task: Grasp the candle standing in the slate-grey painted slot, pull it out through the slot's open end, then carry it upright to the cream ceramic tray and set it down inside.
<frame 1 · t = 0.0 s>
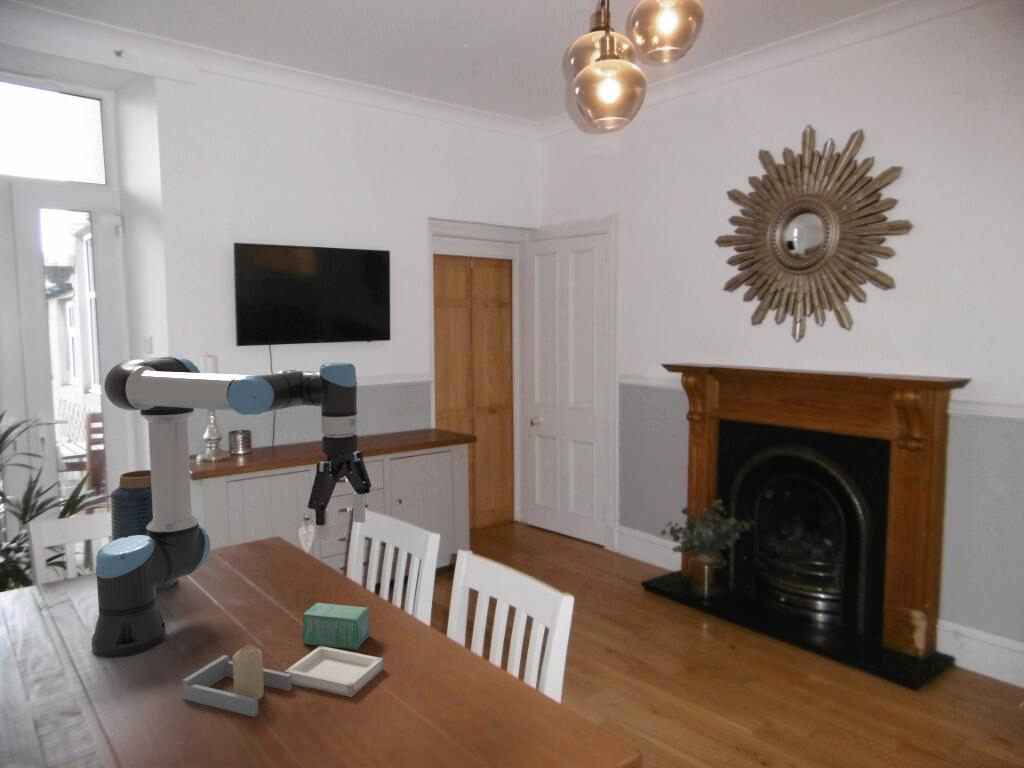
hand: (342, 530, 158), 28 cm above the table, fingers open, 13 cm apart
tray: (334, 675, 151), on the table
box: (337, 641, 167), on the table
vase: (145, 586, 200), on the table
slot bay: (241, 694, 143), on the table
candle: (249, 697, 142), resting in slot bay
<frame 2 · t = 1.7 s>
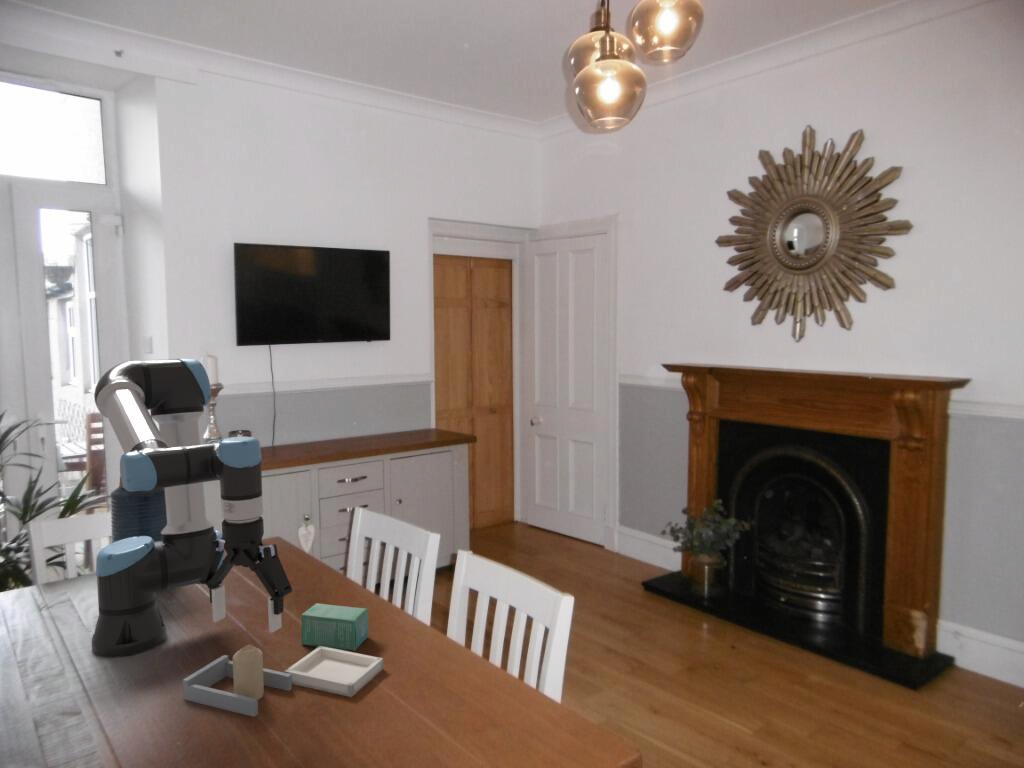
hand: (246, 624, 141), 15 cm above the table, fingers open, 13 cm apart
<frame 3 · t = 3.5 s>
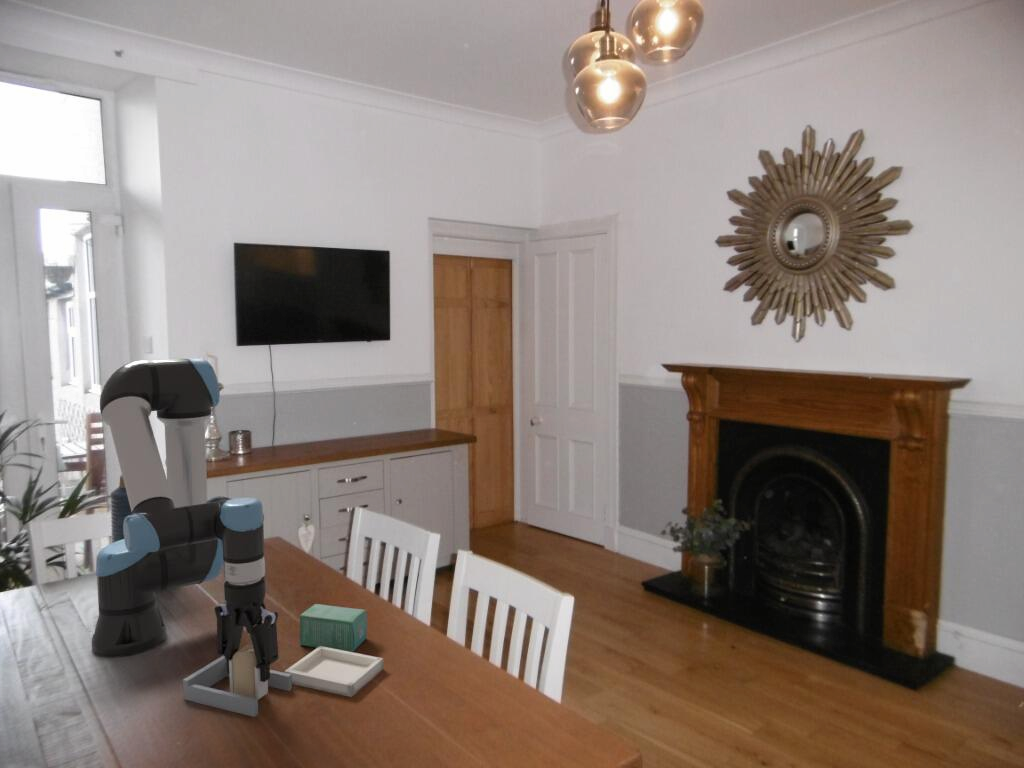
hand: (249, 692, 142), 1 cm above the table, fingers closed on candle, 5 cm apart
candle: (249, 697, 142), resting in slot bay, touching gripper
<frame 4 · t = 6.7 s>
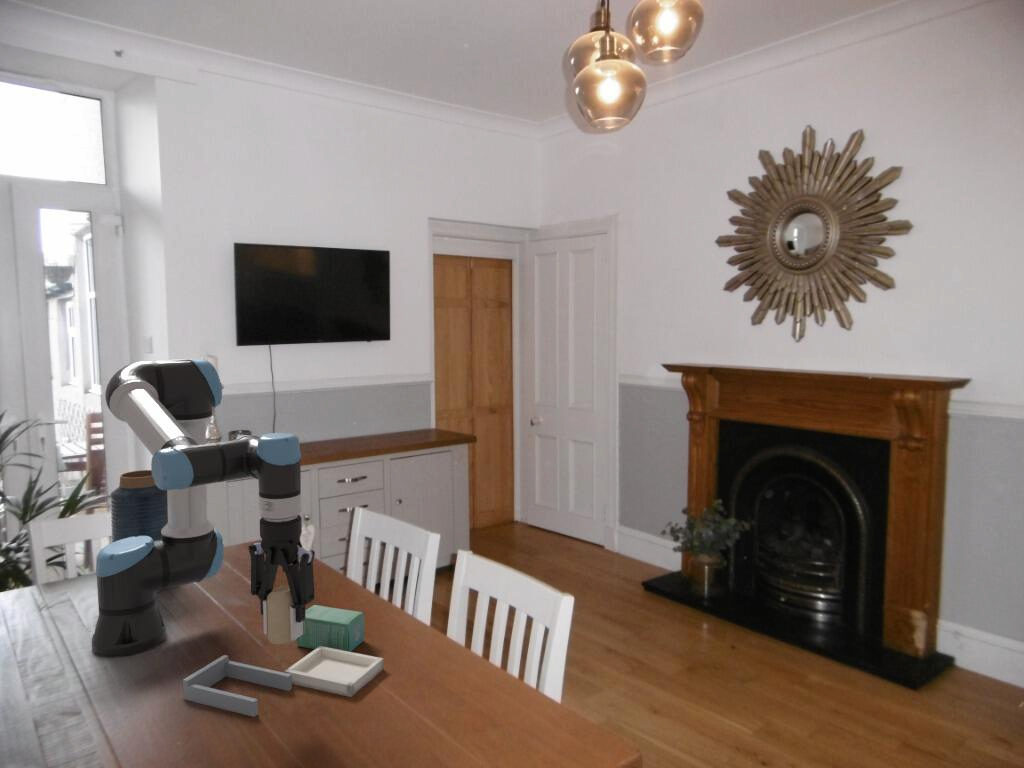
hand: (283, 633, 138), 14 cm above the table, fingers closed on candle, 5 cm apart
box: (331, 645, 165), on the table
candle: (283, 639, 138), point 13 cm above the table, touching gripper
everything else where it was.
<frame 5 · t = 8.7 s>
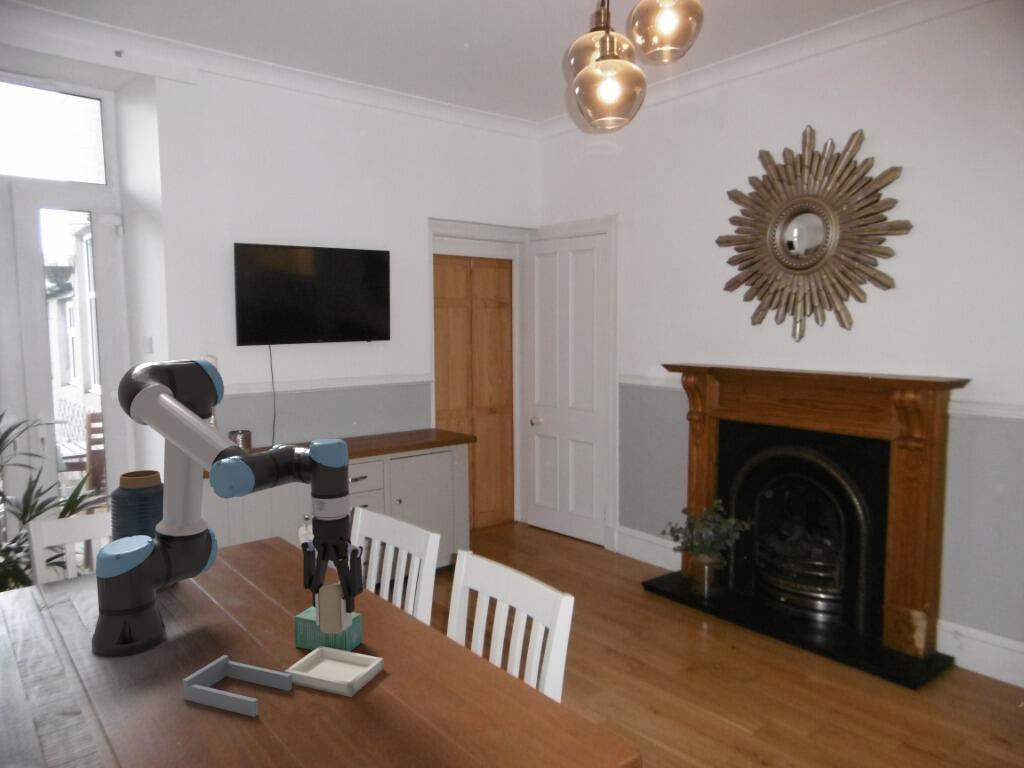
hand: (334, 624, 149), 11 cm above the table, fingers closed on candle, 5 cm apart
candle: (334, 629, 149), point 10 cm above the table, touching gripper
when the fingers open (3 cm above the table, at t = 10.2 s): candle drops 1 cm, resting on tray.
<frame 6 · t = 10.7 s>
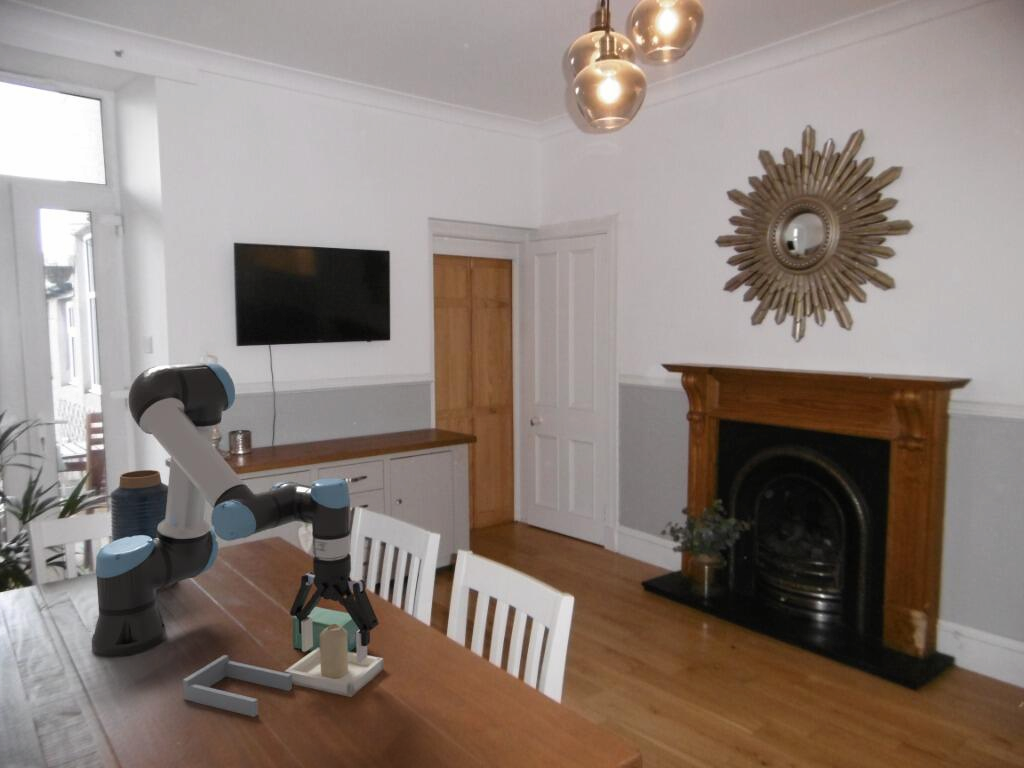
hand: (334, 654, 150), 5 cm above the table, fingers open, 13 cm apart
candle: (334, 673, 151), resting on tray
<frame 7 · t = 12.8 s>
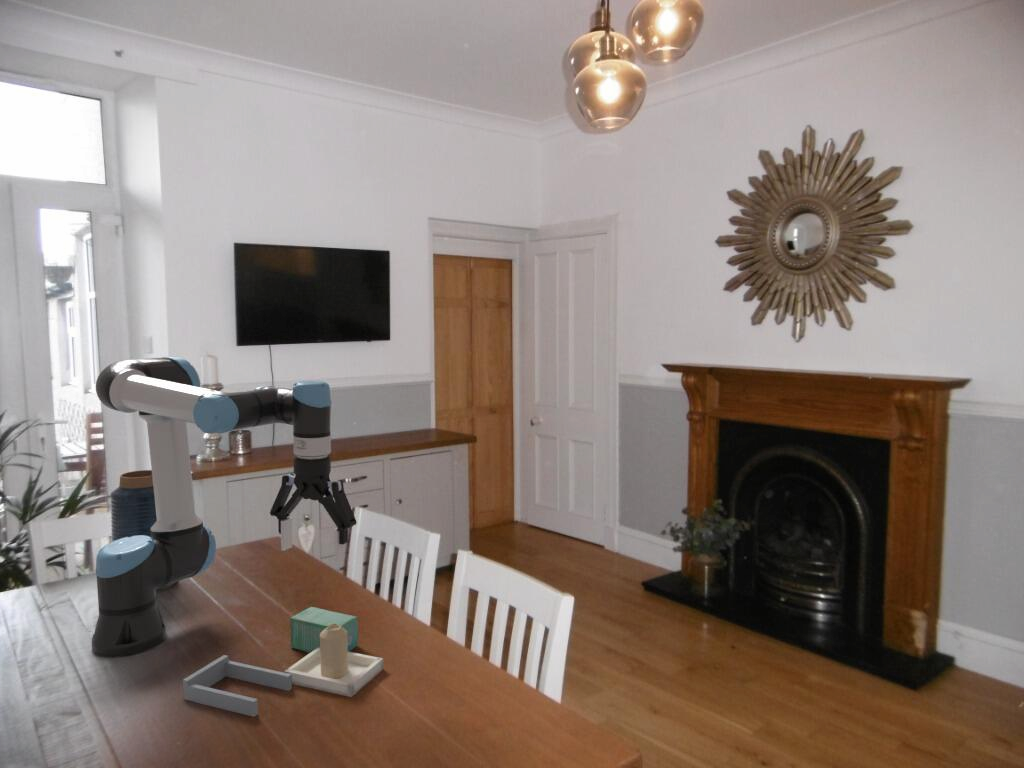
hand: (312, 553, 153), 24 cm above the table, fingers open, 13 cm apart
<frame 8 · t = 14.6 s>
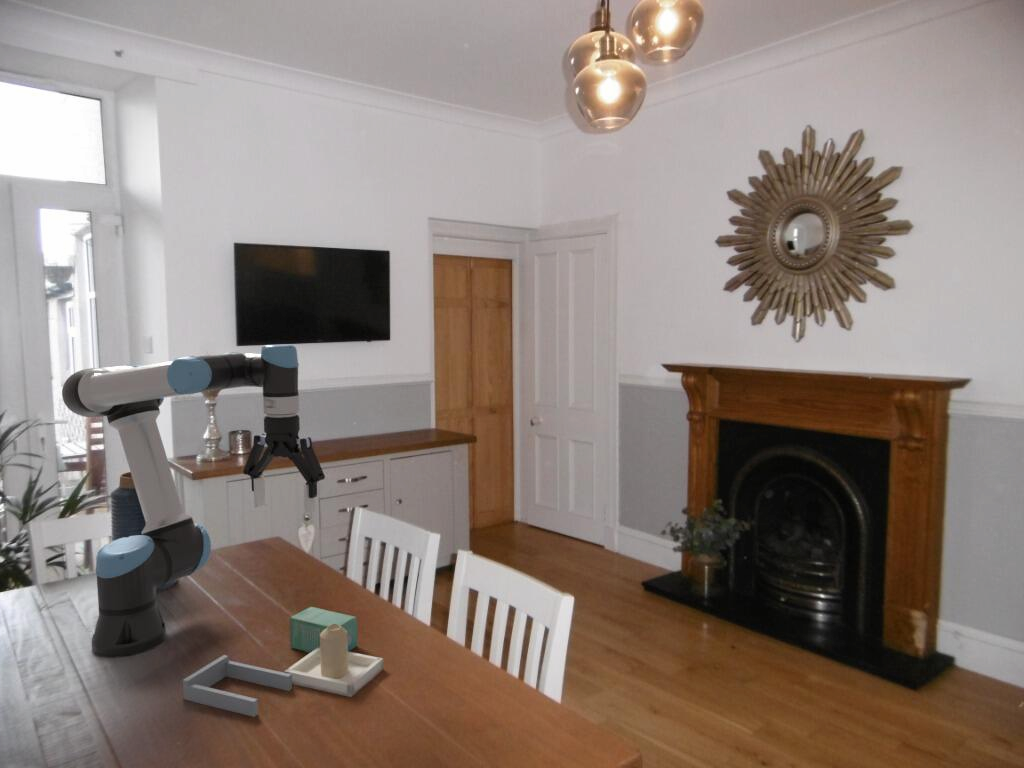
hand: (284, 508, 161), 32 cm above the table, fingers open, 13 cm apart
at the end: candle inside the target area on the tray (0.1 cm from its centre), point 0.4 cm above the tray's base; candle tilted 0°; the gripper is holding nothing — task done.
